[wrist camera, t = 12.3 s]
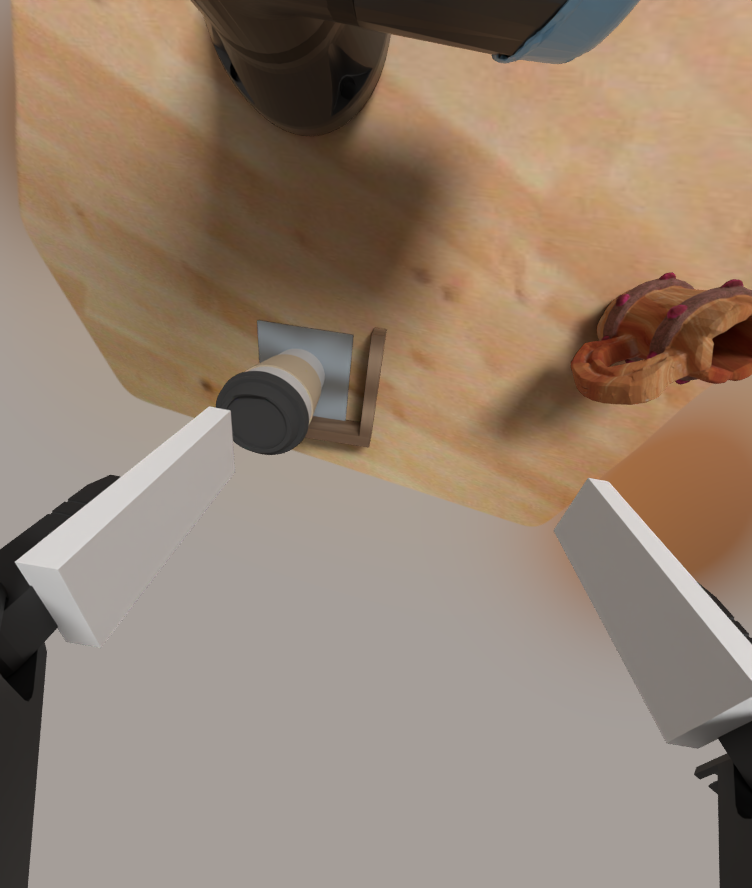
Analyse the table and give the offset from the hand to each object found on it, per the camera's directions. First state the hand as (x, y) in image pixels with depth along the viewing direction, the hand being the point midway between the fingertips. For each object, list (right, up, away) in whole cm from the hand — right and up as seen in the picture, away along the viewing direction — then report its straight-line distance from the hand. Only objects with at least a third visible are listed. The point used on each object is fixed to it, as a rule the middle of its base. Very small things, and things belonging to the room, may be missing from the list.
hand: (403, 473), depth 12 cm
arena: (-9, +10, +31) cm, 34 cm away
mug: (+26, +15, +25) cm, 39 cm away
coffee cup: (-11, +11, +31) cm, 35 cm away
